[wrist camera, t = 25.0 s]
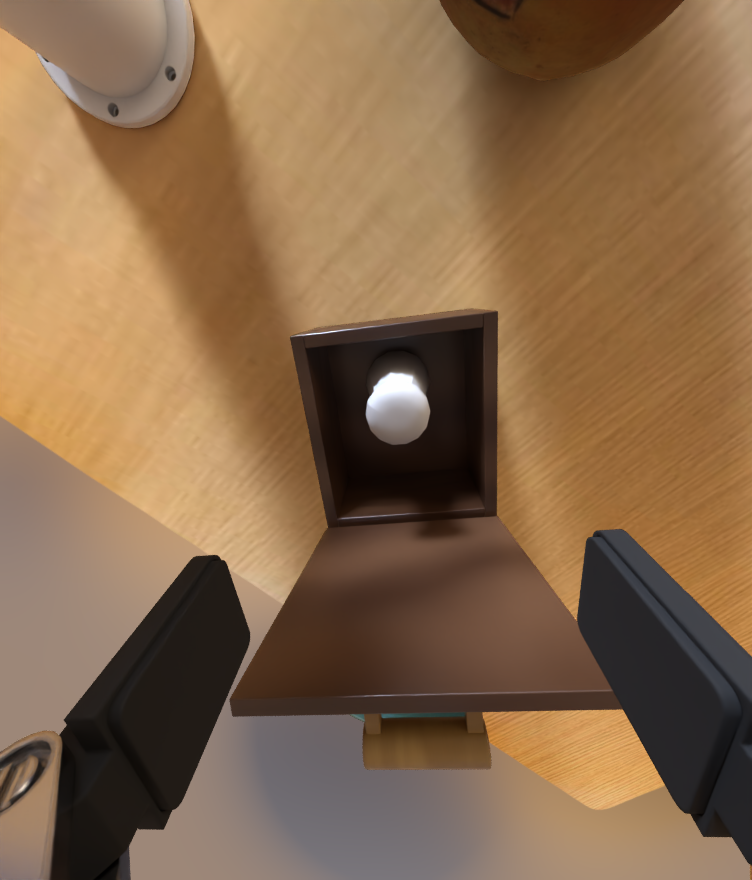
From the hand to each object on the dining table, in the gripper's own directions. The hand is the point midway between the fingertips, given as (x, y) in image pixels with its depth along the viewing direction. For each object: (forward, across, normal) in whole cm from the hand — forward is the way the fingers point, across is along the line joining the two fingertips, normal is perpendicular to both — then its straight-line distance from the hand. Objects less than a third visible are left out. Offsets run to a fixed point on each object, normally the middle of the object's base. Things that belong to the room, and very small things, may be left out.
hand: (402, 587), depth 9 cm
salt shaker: (+28, 0, 0) cm, 28 cm away
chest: (+28, 0, +3) cm, 28 cm away
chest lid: (+10, 0, +9) cm, 14 cm away
